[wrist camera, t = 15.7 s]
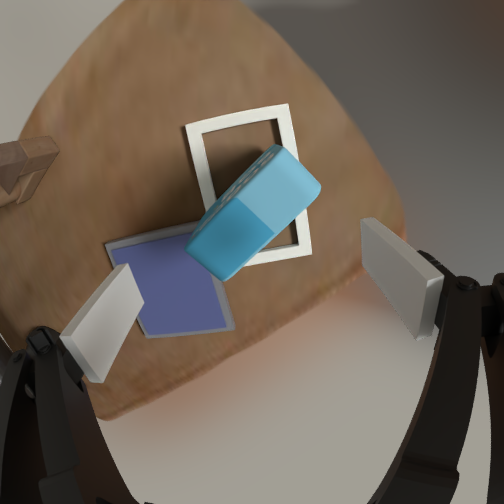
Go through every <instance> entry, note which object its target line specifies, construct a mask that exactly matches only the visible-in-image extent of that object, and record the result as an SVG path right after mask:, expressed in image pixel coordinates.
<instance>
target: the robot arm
mask: <svg viewBox="0 0 504 504" xmlns="http://www.w3.org/2000/svg"><path fill="white" fill-rule="evenodd" d="M360 222H361V243H362V266H363V267H364V268H365V270H366V271H367V272H368V273H369V275H370V276H371V277H372V279H373V280H374V281H375V282H376V284H377V285H378V287H379V288H380V290H381V291H382V292H383V293H384V295H385V296H386V298H387V299H388V301H389V302H390V303H391V305H392V306H393V307H394V309H395V310H396V312H397V313H398V315H399V316H400V317H401V319H402V320H403V322H404V323H405V325H406V326H407V328H408V329H409V331H410V332H411V334H412V335H413V337H414V338H415V340H416V341H417V340H420V339H423V338H425V337H428V336H431V335H432V332H433V328H434V324H435V325H436V326H437V327H438V328H439V334H438V337H437V340H436V344H435V347H434V354H433V357H432V361H431V365H430V368H429V372H428V375H427V379H426V382H425V385H424V388H423V391H422V394H421V397H420V399H419V402H418V405H417V408H416V410H415V413H414V415H413V418H412V420H411V423H410V425H409V428H408V430H407V433H406V435H405V437H404V439H403V442H402V443H401V446H400V448H399V450H398V452H397V454H396V456H395V458H394V460H393V462H392V464H391V466H390V468H389V469H388V471H387V473H386V475H385V477H384V479H383V480H382V482H381V484H380V485H379V487H378V489H377V490H376V492H375V493H374V494H373V496H372V497H371V499H370V500H369V502H368V503H367V504H450V502H451V500H452V498H453V495H454V493H455V490H456V488H457V484H458V481H459V472H458V471H457V464H458V461H459V457H460V455H461V451H462V448H463V445H464V441H465V438H466V434H467V430H468V426H469V422H470V418H471V413H472V408H473V403H474V397H475V391H476V385H477V377H478V368H479V359H480V347H481V350H482V355H483V360H484V366H485V372H486V378H487V386H488V394H489V404H490V417H491V418H490V419H491V463H490V476H489V486H488V495H487V504H504V273H498V274H496V275H495V276H494V279H493V283H492V285H488V286H480V284H479V283H478V282H477V281H476V280H474V279H473V278H470V277H467V276H458V277H456V276H455V275H453V273H451V272H450V271H449V270H448V269H447V268H445V267H444V266H443V265H441V263H440V262H438V261H437V260H436V259H435V258H434V257H432V256H431V255H430V254H428V253H426V252H423V251H421V250H419V251H415V250H414V249H413V248H412V247H411V246H409V245H408V244H407V243H406V242H404V241H403V240H402V239H401V238H399V237H398V236H397V235H396V234H394V233H393V232H392V231H391V230H389V229H388V228H387V227H385V226H384V225H383V224H381V223H380V222H379V221H377V220H376V219H375V218H373V217H371V218H365V219H360ZM143 304H144V300H143V298H142V296H141V294H140V291H139V289H138V287H137V284H136V282H135V279H134V277H133V274H132V272H131V269H130V267H129V264H128V263H126V264H121V265H117V266H116V267H115V269H114V270H113V271H112V272H111V273H110V274H109V275H108V277H107V278H106V279H105V280H104V281H103V282H102V283H101V285H100V286H99V287H98V288H97V289H96V290H95V292H94V293H93V294H92V295H91V296H90V298H89V299H88V300H87V301H86V303H85V304H84V305H83V306H82V307H81V309H80V310H79V311H78V312H77V314H76V315H75V316H74V318H73V319H72V320H71V321H70V323H69V324H68V325H67V327H66V328H65V329H64V330H63V332H62V333H61V334H59V333H58V332H56V331H54V330H52V329H50V328H48V327H45V326H40V327H37V328H36V329H35V330H33V331H32V332H31V333H30V334H29V335H28V336H27V338H26V342H27V344H28V345H27V348H26V350H25V349H21V350H19V351H16V352H14V353H13V352H12V351H11V350H10V348H9V347H8V346H7V344H6V343H5V342H4V340H3V339H2V338H1V336H0V504H139V503H138V502H137V501H136V500H135V499H134V498H133V497H132V495H131V493H130V492H129V490H128V488H127V486H126V484H125V482H124V480H123V479H122V477H121V475H120V473H119V471H118V469H117V467H116V464H115V462H114V460H113V458H112V456H111V454H110V451H109V449H108V447H107V444H106V442H105V440H104V437H103V435H102V432H101V430H100V427H99V424H98V422H97V419H96V416H95V413H94V410H93V407H92V404H91V401H90V398H89V395H88V392H87V388H86V385H85V383H84V381H83V380H82V379H81V378H82V377H83V375H84V374H85V375H86V377H87V378H88V379H89V380H90V382H95V383H103V382H104V380H105V377H106V375H107V373H108V371H109V369H110V367H111V365H112V363H113V361H114V359H115V357H116V355H117V353H118V351H119V349H120V347H121V345H122V343H123V341H124V340H125V338H126V336H127V334H128V332H129V330H130V328H131V326H132V324H133V323H134V321H135V319H136V317H137V315H138V313H139V312H140V310H141V308H142V306H143ZM144 504H153V503H148V502H145V503H144Z"/></svg>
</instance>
